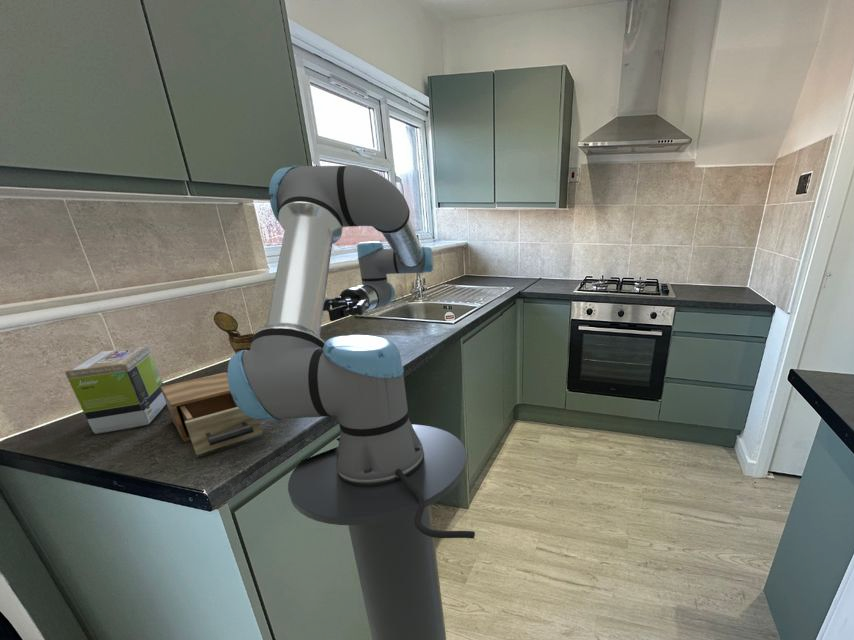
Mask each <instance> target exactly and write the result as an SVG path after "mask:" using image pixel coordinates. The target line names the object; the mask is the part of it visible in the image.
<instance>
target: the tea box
mask: <svg viewBox="0 0 854 640" xmlns="http://www.w3.org/2000/svg"><path fill="white" fill-rule="evenodd" d="M64 373H65V376H66V378H67V381H68V382H69V384H70V387H71V388H72V391H73V393H74V395H75V397H76V399H77V401H78V403H79V405H80V408H81V410H82V412H83V414H84V416H85V417H86V421H87V422H88V425H89V427H90V428H91V431H92V433H93V434H95V435H98V434H104V433H109V432H110V433H111V432H114V431H115V432H116V431H121V430H129V429H133V428H139V427H144V426H148V425H150V424H151V423H152V421H153V420H154V419H155V418H156V417H157V415H158V414H159V413H160V412H161V411H162V410H163V409H164V408H165V406H167V404H166V401H165V398H164V396H163V393H162V390H161V386H165V385H164V383H163V380H162V376H161V375H160V373H159V370H158V367H157V364H156V362H155V359H154V357H153V354H152V352H151V349H150V347H149V346H148V345H146V346H138V347H131V348H130V347H129V348H122V349H121V348H120V349H113V350H106V351H97V352H95V353H94V354H92V355H91V356H89V357H86V359H84V360H82V361H80V362H79V363H77V364H75V365H74V366H71V367H70V368H69V369H67V370H65V371H64Z"/></svg>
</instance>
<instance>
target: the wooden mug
mask: <svg viewBox="0 0 854 640" xmlns="http://www.w3.org/2000/svg"><path fill="white" fill-rule="evenodd" d="M213 322H214V323H215V325H216V326H217V327H218V328H219V329H220V330H221V331H223V332H224V333H227V335H228V341H229V344H230V347H231V348H232V351H233V352H234V353H235V354H236V353H237V352H240V351H242V350H247V351H249V350H250V348H251V344H252V339H253V336H254V334H255V333H247V334H242V335H241V333H240V331H238V328H239V323H238V321H237V320H236V319H235V318H234V316H233V315H231V314H229V313H227V312H224V311H219V310H217V311H216V312H215V314H214V316H213Z"/></svg>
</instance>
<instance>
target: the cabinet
mask: <svg viewBox="0 0 854 640" xmlns="http://www.w3.org/2000/svg"><path fill="white" fill-rule="evenodd" d="M161 390H162V393H163V396H164V398H165V401H166V407H167V409H168V412H169V415H170V417H171V420H172V423H173V424H174V426H175V427H176V428H175V429H176V430H177V431H178V434H179V435H180V437H181V439H182V441H183V442H184V443H186V442H191V439H190V436H189V433H188V431H187V429H186V427H185V424H184V421H183V418H182V415H181V412H180V409H179V407H178V406H180V405H184V404H188V403H192V402H196V401H200V400H204V399H208V398H212V397H216V396H220V395H224V394H228V393H231V392H230V389H229V385H228V376H227V372H226V371H225V372H221V373H216V374H212V375H207V376H203V377H198V378H194V379H189V380H184V381H180V382H175V383H170V384H167V385H164V386H161Z"/></svg>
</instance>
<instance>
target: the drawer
mask: <svg viewBox="0 0 854 640" xmlns="http://www.w3.org/2000/svg"><path fill="white" fill-rule="evenodd" d="M178 407H179V409H180V412H181V415H182V418H183V421H184V424H185V427H186V429H187V431H188V433H189V436H190V439H191V440H190V442H191V444H192V447H193V451H194V454H195V455H196V456H198V455H202V454H205V453H208V452H211V451H215V450H218V449H220V448H223V447H227V446H231V445H233V444H237V443H238V442H243V441H246V440H249V439H251V438H255V437H258V436H262V435H263V431H262V426H261V423H260V419H254V418H251V417H249V416H247V415H245V414H244V413H243V412H242V411H241V410H240V409H239V408H238V406H237V405H236V403H235V401H234V399H233V396H232V395H231V393H228V394H224V395H220V396H216V397H212V398H208V399H204V400H200V401H196V402H192V403H188V404H184V405H180V406H178Z"/></svg>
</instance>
